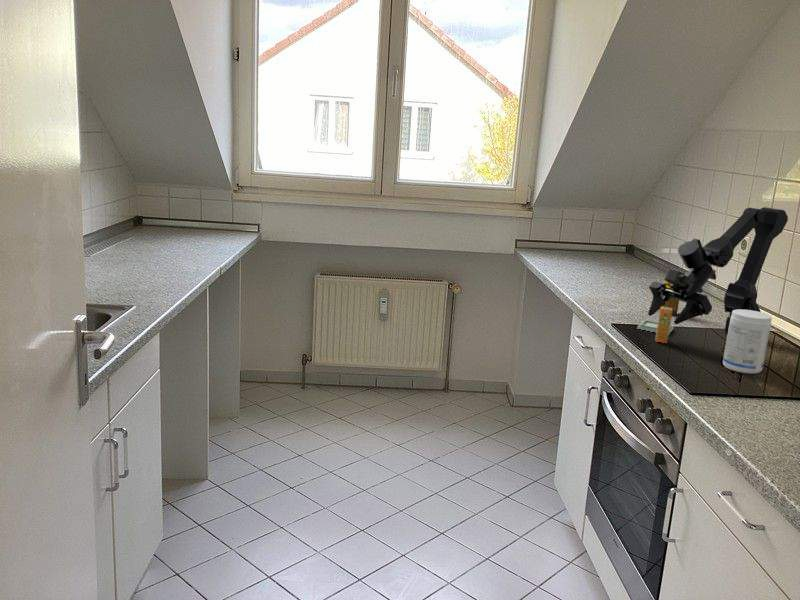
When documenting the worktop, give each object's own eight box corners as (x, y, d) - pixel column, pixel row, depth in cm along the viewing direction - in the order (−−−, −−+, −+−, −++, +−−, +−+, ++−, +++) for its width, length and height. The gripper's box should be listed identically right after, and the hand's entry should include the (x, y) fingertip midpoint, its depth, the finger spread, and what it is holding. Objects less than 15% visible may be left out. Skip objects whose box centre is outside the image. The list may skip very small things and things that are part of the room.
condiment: (653, 309, 255) (659, 275, 252) (677, 311, 256) (683, 276, 253) (662, 315, 248) (668, 279, 245) (687, 316, 249) (693, 281, 246)
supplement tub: (736, 361, 200) (746, 307, 197) (769, 372, 192) (780, 317, 189) (713, 364, 195) (723, 310, 191) (746, 376, 187) (758, 319, 184)
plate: (672, 329, 229) (673, 324, 229) (668, 335, 221) (669, 330, 221) (642, 323, 233) (643, 319, 233) (637, 329, 225) (637, 324, 225)
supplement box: (654, 342, 212) (660, 308, 210) (655, 339, 215) (660, 305, 213) (666, 344, 211) (672, 310, 209) (667, 341, 214) (673, 307, 212)
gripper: (658, 254, 218) (625, 292, 215) (712, 266, 202) (678, 308, 199) (672, 279, 224) (640, 317, 220) (726, 294, 208) (692, 335, 205)
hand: (661, 319), depth 211 cm, fingers open, 9 cm apart
